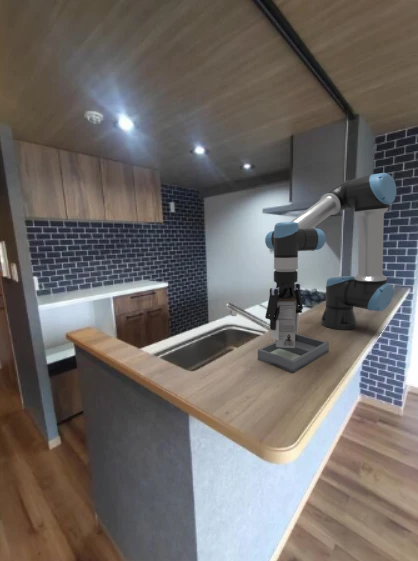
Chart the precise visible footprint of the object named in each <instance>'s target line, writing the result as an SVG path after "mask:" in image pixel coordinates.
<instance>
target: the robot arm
mask: <svg viewBox="0 0 418 561" xmlns="http://www.w3.org/2000/svg"><path fill="white" fill-rule="evenodd" d="M396 198H397V186H396V182H395V180H394V178H393V177H392V175H390V174H389V173H386V172H381V173H380V172H379V173H373V174H370V175H365V176H361V177H358V178H353V179H348V180H345V181H343V182H341V183H339V184H337V185H336V186H335V187H333V188H331V189H330V190H328V191H326V193H324V194H323V195H321V197H320V199H319V200H318V201H317V202H316V203H314V204H313V205H312V206H310V207H308V209H306V210H304V211H303V212H302V213H300V214H299V215H298V216H296V217H295V218H293V219H292V220H291V221H283V222H281V221H280V222H277V223H275V225H274V229H273V230H271V231H269V232H268V233H267V234H266V236H265V238H264V243H265V246H266V248H267V249H269V250H272V251H273V269H274V271H273V282H274V283H275V284H276V286H275V288H272V287H271V288H270V289H269V298H268V302H267V307H266V312H265V316H264V317H265V319H266V320H269V330H270V339H272V340H279V320H277V319H278V316H279V313H280V306H279V307H278V308H276V305H277V300H278V299H286V298H287V297H291V296H293V297H295V299H296V326H295V333H296V332H299V321H300V320H299V319H300V318H299V316H300V314H302V313H303V310H304V306H303V301H302V296H301V284H300V283H297V282H298V274H299V273H298V268H299V252H305V251H306V252H308V251H309V252H310V251H311V252H315V251H317V250H320V249H322V248H323V247H324V246H325V243H326V233H325V232H324V231H323V230H322V229H320V228H315V227H317V226H318V225H319V224H320V223H321V222H323V221H325V220H326V219H327V218H328V217H330V216H333V215H336V214H338V213H339V212H341V211H344V210H351V209H353V210H354V212H353V213H354V214H355V215H357V216H358V223H357V224H358V234H357V235H358V238H357V240H358V245H357V246H358V248H357V251H358V252H357V254H358V256H357V259H358V260H357V261H358V262H357V265H358V266H357V268H358V269H357V275H355V276H353V275H347V276H332V277H329V278H327V280H326V286H325V309H324V310H323V311H324V312H323V313H322V317H321V321H320V323H321V325H322V326H324V327H325V328H326V327H327V328H329V329H333V330H340V331H341V330H342V331H346V330H353V329H356V328H357V327H358V326H357V325H358V323H357V322H358V321H357V319H356V315H355V313H354V308H360V309H364V310H368V311H375V312H383V311H385V310H386V309H387V308H388V307H389V305H390V304H391V302H392V300H393V297H394V288H393V285H392V284H390V283H388V281H387V280H388V278H387V277H386V275H384V274H383V271H384V270H383V269H384V268H383V267H384V266H383V265H384V264H383V262H384V226H385V224H384V223H385V222H384V221H385V219H384V218H385V217H384V216H385V213H386V212H387V211H389V207H390V206H389V205H391V204H392V203H393V202H394V201H396ZM278 297H280V298H278Z"/></svg>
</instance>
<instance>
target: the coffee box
mask: <svg viewBox="0 0 418 561" xmlns="http://www.w3.org/2000/svg"><path fill="white" fill-rule="evenodd" d="M278 298H280V297H278ZM279 306H280V313H279V316H278V319H277V320H279V340H275V339H274V340H275V341H274V342H276V347H284V348H295V333H296V331H295V326H296V299H295V297H293V296H291V297H287V298H286V299H278V300H277V305H276V308H278V307H279Z"/></svg>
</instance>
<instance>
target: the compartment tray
mask: <svg viewBox="0 0 418 561" xmlns="http://www.w3.org/2000/svg"><path fill="white" fill-rule="evenodd" d="M329 346H330V345H329V342H328V341H324V340H320V339H317V338H315V337H310V336H307V335H303V334H299V333H296V332H295V348H284V347H276V341H274V342H271V343H269V344H267V345H265V346H263V347H260V348H258V349H257V360H259V361H262V362H264V363H267V364H269V365H272V366H275V367H276V368H280V369H282V370H285V371H286V372H289V373H291V374H294V373H296V372H297V371H299V370H301V369H302V368H304V367H306V366H307V365H309V364H311V363H312V362H314V361H316V360H318V359H319V358H321V357H322V356H324V355H325V354H327V353H329V352H330V351H329V349H330V347H329Z"/></svg>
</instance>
